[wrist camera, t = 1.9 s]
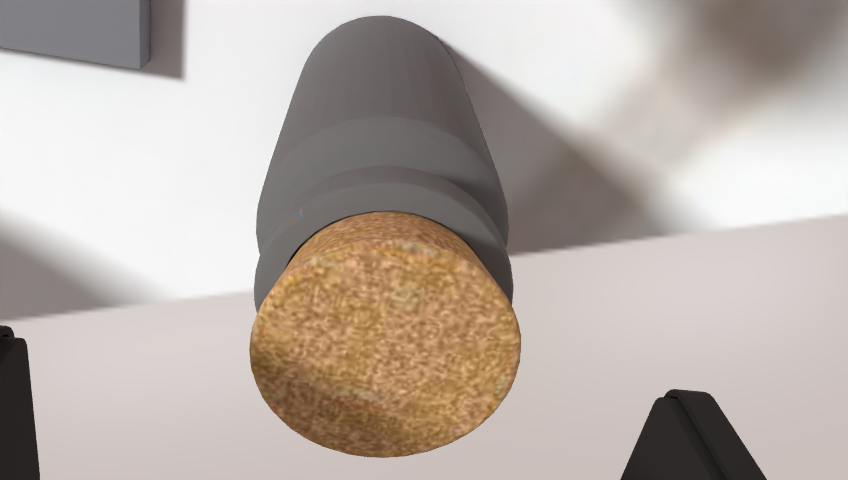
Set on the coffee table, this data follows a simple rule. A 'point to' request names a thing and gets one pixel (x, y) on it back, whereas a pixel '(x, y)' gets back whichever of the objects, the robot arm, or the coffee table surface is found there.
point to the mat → (79, 29)
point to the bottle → (382, 251)
